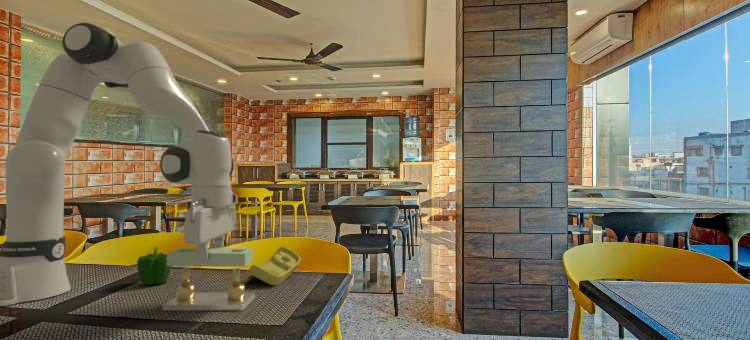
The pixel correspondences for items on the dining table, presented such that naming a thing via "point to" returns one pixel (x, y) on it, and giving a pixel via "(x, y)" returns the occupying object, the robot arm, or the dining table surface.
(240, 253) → the board
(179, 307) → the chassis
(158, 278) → the bell pepper
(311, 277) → the dining table surface
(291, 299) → the dining table surface
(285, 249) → the plastic component
